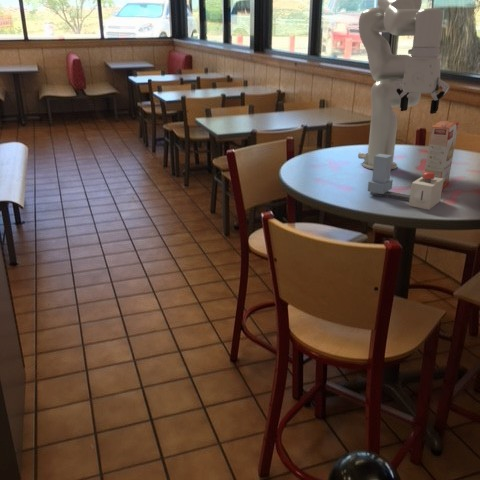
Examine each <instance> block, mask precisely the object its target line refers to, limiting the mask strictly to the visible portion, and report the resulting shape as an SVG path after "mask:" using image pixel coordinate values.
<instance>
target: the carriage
mask: <svg viewBox="0 0 480 480" xmlns="http://www.w3.org/2000/svg"><path fill="white" fill-rule="evenodd" d="M391 162H392V155H386V154H378V155H376V156H375V157H374V167H373V169H372V179H371V180H369V181H368V184H367V192H375V193H380V194H384V193H385V192H387V191H391V190H392V189H393V182H394V180H393V179H391V171H392V170H391Z"/></svg>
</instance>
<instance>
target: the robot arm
mask: <svg viewBox="0 0 480 480" xmlns="http://www.w3.org/2000/svg"><path fill="white" fill-rule="evenodd" d="M422 1H423V0H377V7H370V8H367V9H365V10H364V11H362V12H361V13H360V15H359V18H358V34H359V37H360V40H361V42H362V45H363V47H364V49H365V52H366V54H367V55H366V56H367V61H368V66H369V67H368V68H369V71H370V75H371V78H372V79H373V81H374V83H373V85H372V86H371V88H370V102H371V103H370V105H371V107H370V108H371V111H370V112H371V115H370V116H371V117H370V126H369V135H368V136H369V138H368V147H367V153H364V152H359V153H358V155H357V157H358V159H361V160H364V161H363V162H362V166H363V167H364V168H366V169H369V170H373V167H374V157H375V156H376V155H378V154H386V155H392V162H391V171H392V170H394V169H397V168H398V164H397V162H395V161H394V158H395V157H394V155H395V146H396V138H397V129H398V117H397V115H396V113H395V111H394V110H393V108H400V112H407V110H408V107H414V106H416V105H418V104H419V102H420V100H421V97H422V94H425V95H426V94H427V95H428V94H430V96H431V97H432V100H431V101H430V108H429V109H430V110H429V114H431V115H433V114H437V112H438V111H439V105H440V104H439V103H440V100H442V98H443V97H445V96H446V94H447V92H448V91H449V89H450V87H451V85H450V84H449V83H447V82H445V81H443V80H442V79H441V59H440V58H439V50H440V44H441V43H440V42H441V37H442V36H441V35H442V29H443V28H442V27H443V20H444V19H443V18H444V11H443V9H441V8H435V7H433V8H432V7H430V8H422ZM421 8H422V9H421ZM381 33H388V34H391V35H393V36H395V37H403V36H408V37H409V36H411V37H413V40H412V47H411V49H408V51H407V53H408V54H393V53H392V51H391V45H390V43H389V41H388V40H387V39H386V38H385V37H384V36H383V35H382V34H381ZM440 87H441V88H442V90H440ZM439 90H440V92H439Z"/></svg>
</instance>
